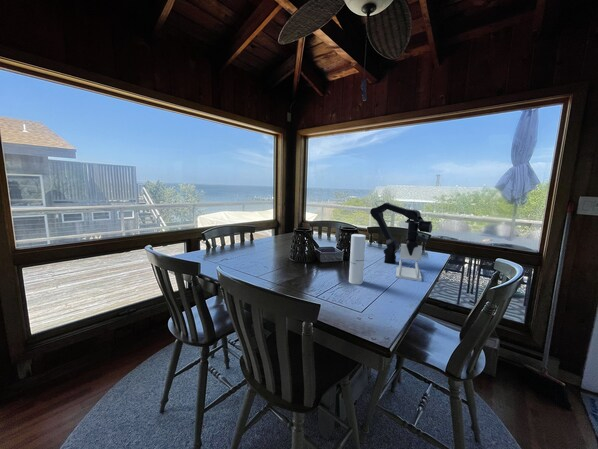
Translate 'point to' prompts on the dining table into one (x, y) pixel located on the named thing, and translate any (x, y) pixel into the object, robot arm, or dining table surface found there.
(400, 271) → the rack
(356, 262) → the cylindrical container
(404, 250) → the tile
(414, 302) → the dining table surface
